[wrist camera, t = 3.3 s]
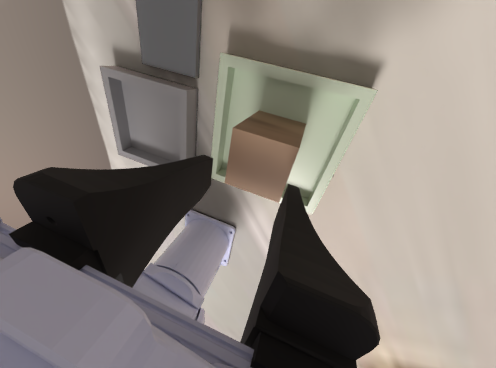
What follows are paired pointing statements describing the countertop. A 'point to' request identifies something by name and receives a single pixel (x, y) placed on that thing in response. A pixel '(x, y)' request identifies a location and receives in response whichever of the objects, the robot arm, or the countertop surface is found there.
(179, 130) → the grey tray
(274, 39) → the countertop surface
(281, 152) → the walnut block
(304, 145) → the green tray
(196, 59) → the slate coaster
